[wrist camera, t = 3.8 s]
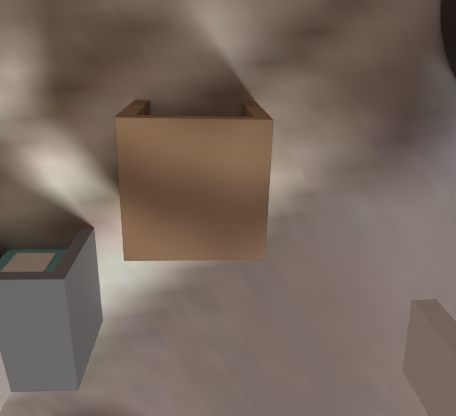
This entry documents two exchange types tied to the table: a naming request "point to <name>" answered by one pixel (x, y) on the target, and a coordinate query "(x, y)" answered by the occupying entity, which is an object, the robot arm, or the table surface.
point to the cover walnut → (193, 184)
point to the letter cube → (31, 260)
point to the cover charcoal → (51, 320)
